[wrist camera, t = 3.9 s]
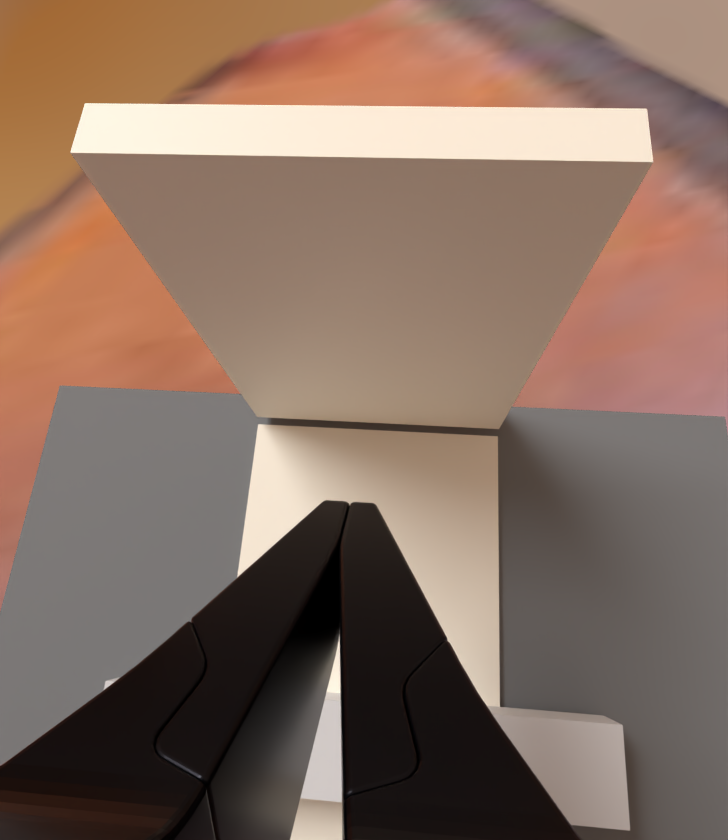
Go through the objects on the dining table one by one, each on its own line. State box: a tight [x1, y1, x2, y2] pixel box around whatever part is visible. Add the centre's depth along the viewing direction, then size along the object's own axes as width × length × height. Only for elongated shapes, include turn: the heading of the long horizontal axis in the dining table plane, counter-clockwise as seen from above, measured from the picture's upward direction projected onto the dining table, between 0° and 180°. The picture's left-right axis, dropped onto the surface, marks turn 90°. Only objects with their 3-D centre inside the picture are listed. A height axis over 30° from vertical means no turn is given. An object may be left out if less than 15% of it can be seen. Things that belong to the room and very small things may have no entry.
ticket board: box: [0, 386, 728, 840], centre depth 15 cm, size 12×20×3 cm, turn 86°
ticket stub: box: [70, 103, 653, 429], centre depth 12 cm, size 1×7×10 cm, turn 86°
